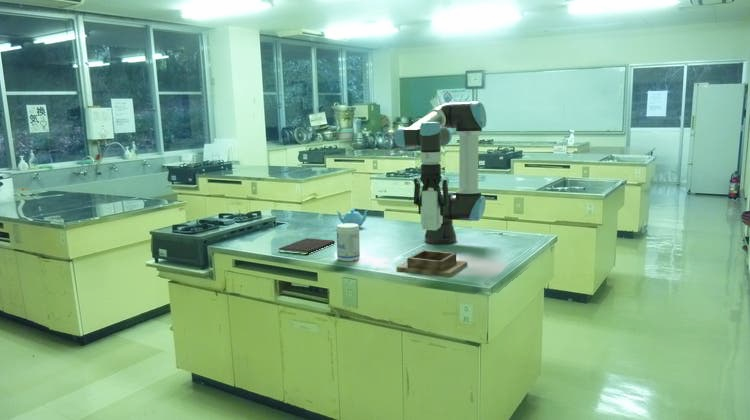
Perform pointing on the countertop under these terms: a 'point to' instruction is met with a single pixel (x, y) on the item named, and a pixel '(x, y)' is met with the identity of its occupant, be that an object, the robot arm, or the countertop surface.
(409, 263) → the bottle stand
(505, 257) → the countertop surface
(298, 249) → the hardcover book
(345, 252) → the supplement tub
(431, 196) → the skincare box
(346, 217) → the teapot
